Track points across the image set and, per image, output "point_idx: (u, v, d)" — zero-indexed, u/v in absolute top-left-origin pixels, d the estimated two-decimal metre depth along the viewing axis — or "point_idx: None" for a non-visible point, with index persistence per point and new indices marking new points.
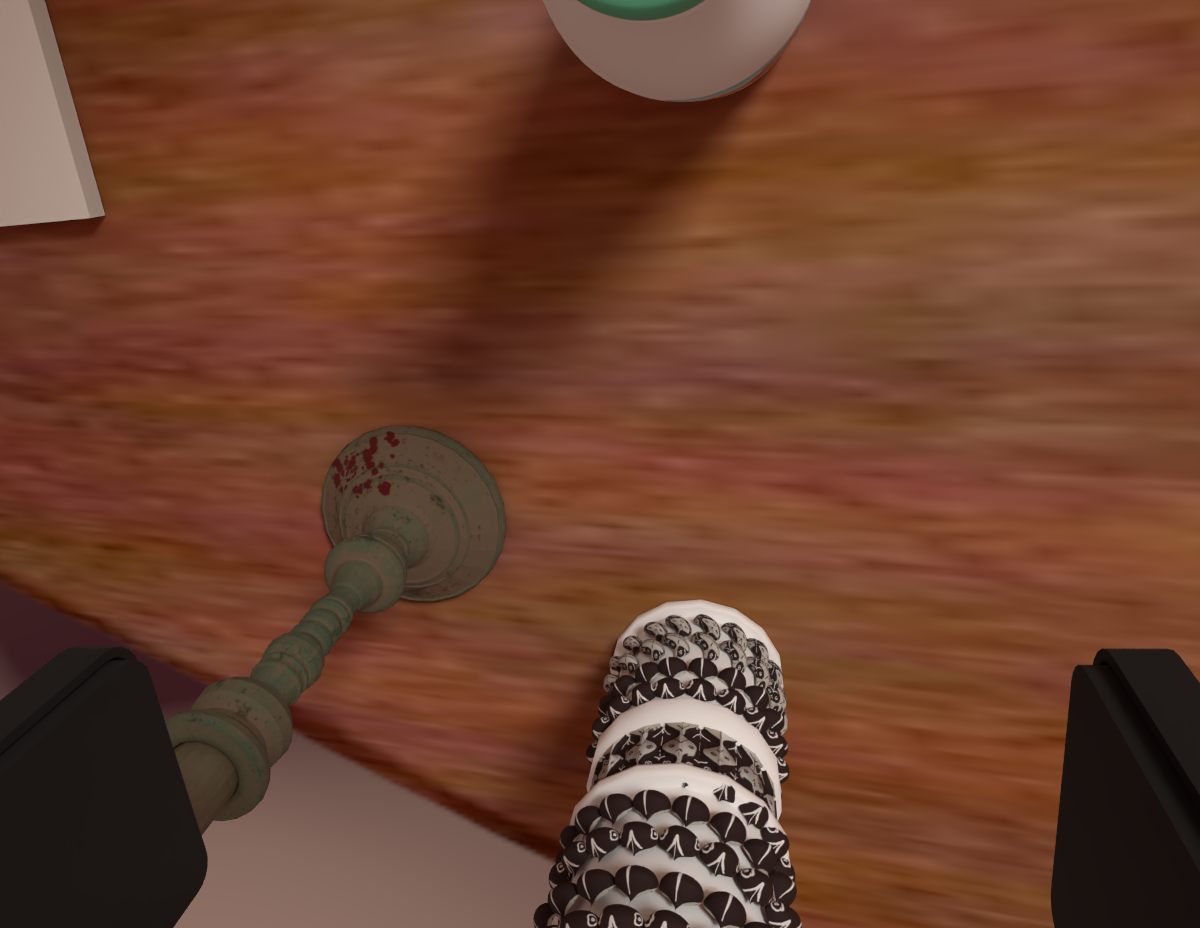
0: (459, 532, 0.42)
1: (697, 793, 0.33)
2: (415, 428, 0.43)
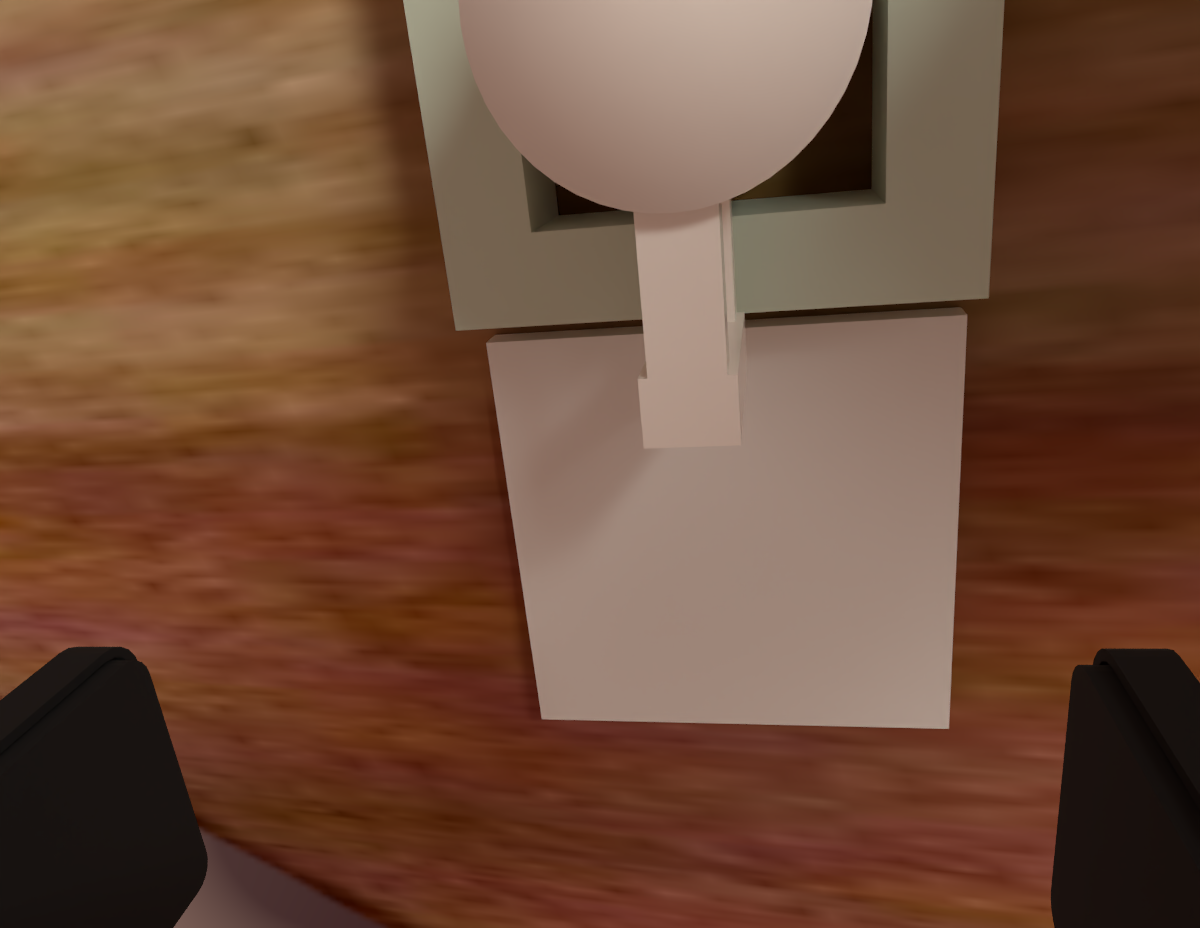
0: None
1: None
2: None
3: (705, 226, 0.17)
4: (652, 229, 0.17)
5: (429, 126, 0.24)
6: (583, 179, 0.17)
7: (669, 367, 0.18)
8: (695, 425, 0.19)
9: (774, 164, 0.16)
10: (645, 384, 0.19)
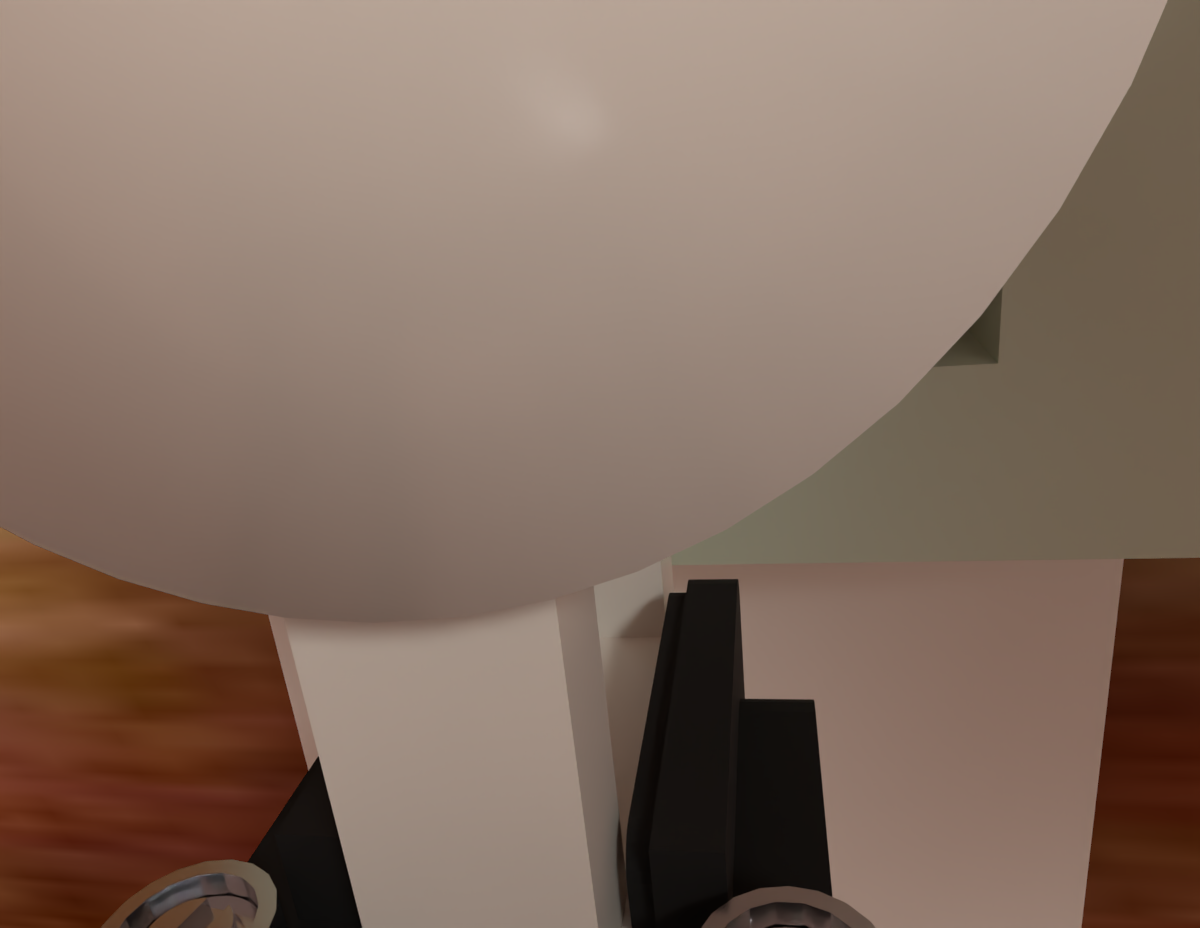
0: None
1: None
2: None
3: (511, 629, 0.05)
4: (340, 626, 0.05)
5: None
6: (43, 498, 0.05)
7: None
8: None
9: (742, 487, 0.04)
10: None
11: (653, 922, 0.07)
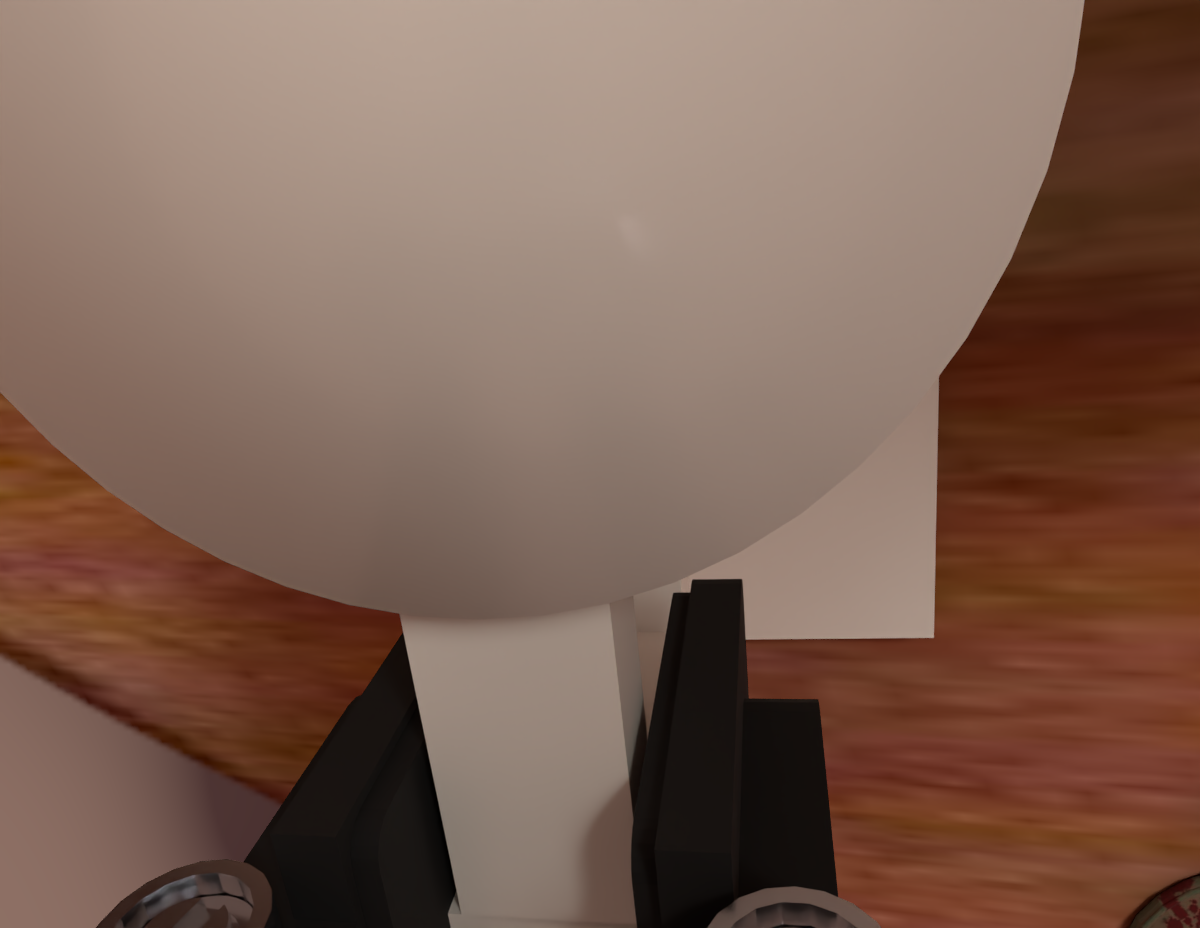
0: None
1: None
2: None
3: (575, 624, 0.07)
4: (444, 622, 0.07)
5: None
6: (235, 528, 0.06)
7: (509, 899, 0.08)
8: None
9: (751, 523, 0.06)
10: (457, 925, 0.08)
11: (659, 923, 0.06)
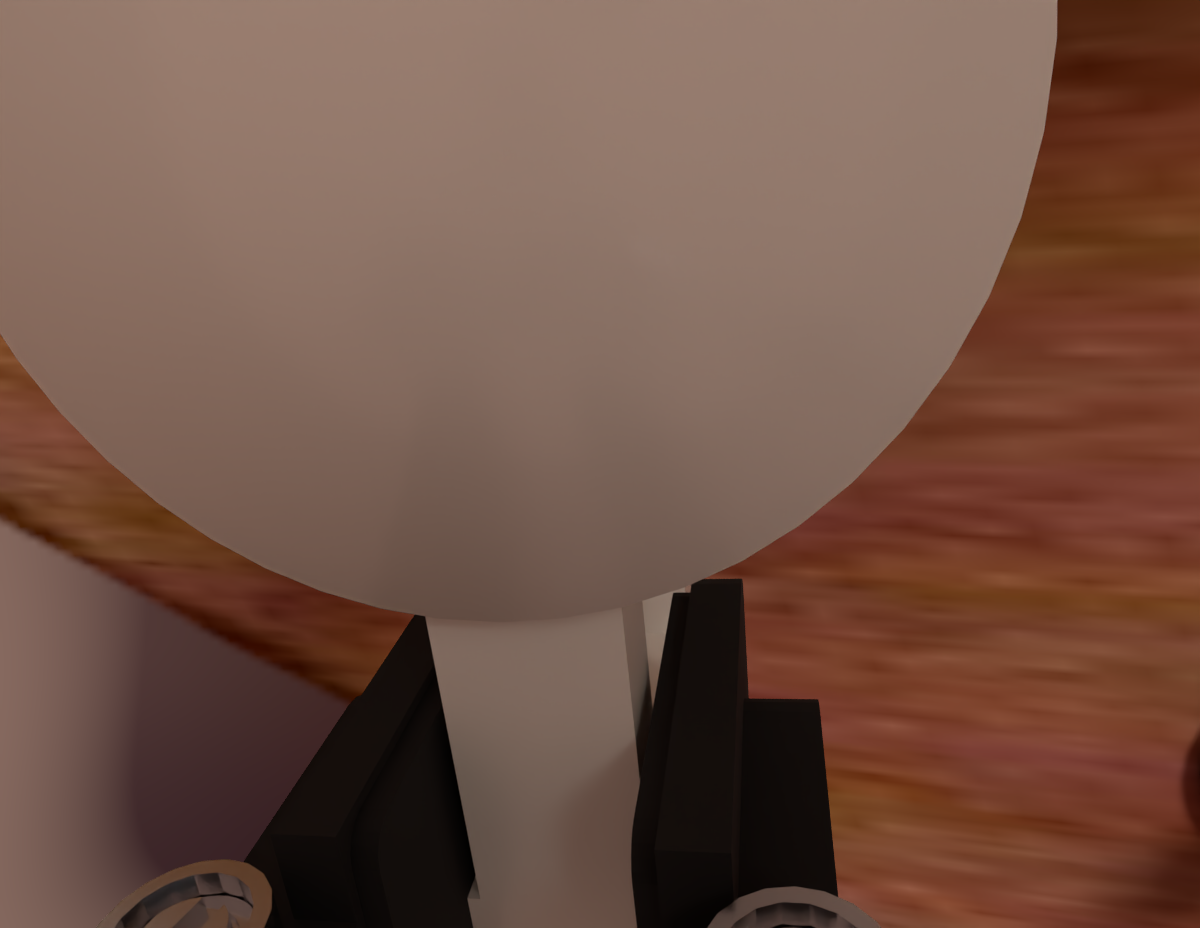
0: None
1: None
2: None
3: (590, 626, 0.07)
4: (466, 624, 0.07)
5: None
6: (276, 537, 0.07)
7: (526, 884, 0.08)
8: None
9: (753, 533, 0.06)
10: (475, 908, 0.09)
11: (659, 923, 0.06)
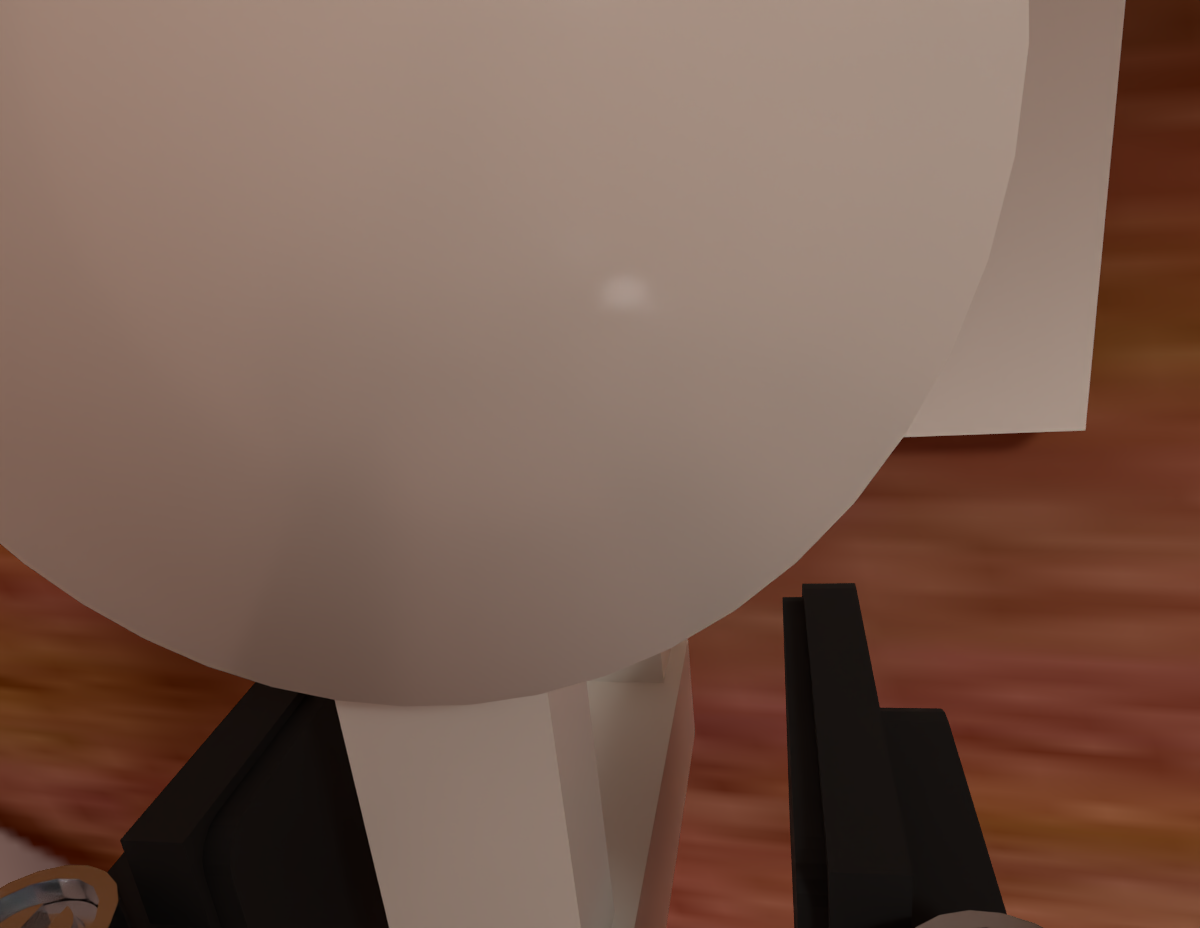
0: None
1: None
2: None
3: (512, 707, 0.06)
4: None
5: None
6: (153, 606, 0.06)
7: None
8: None
9: (681, 618, 0.05)
10: None
11: None
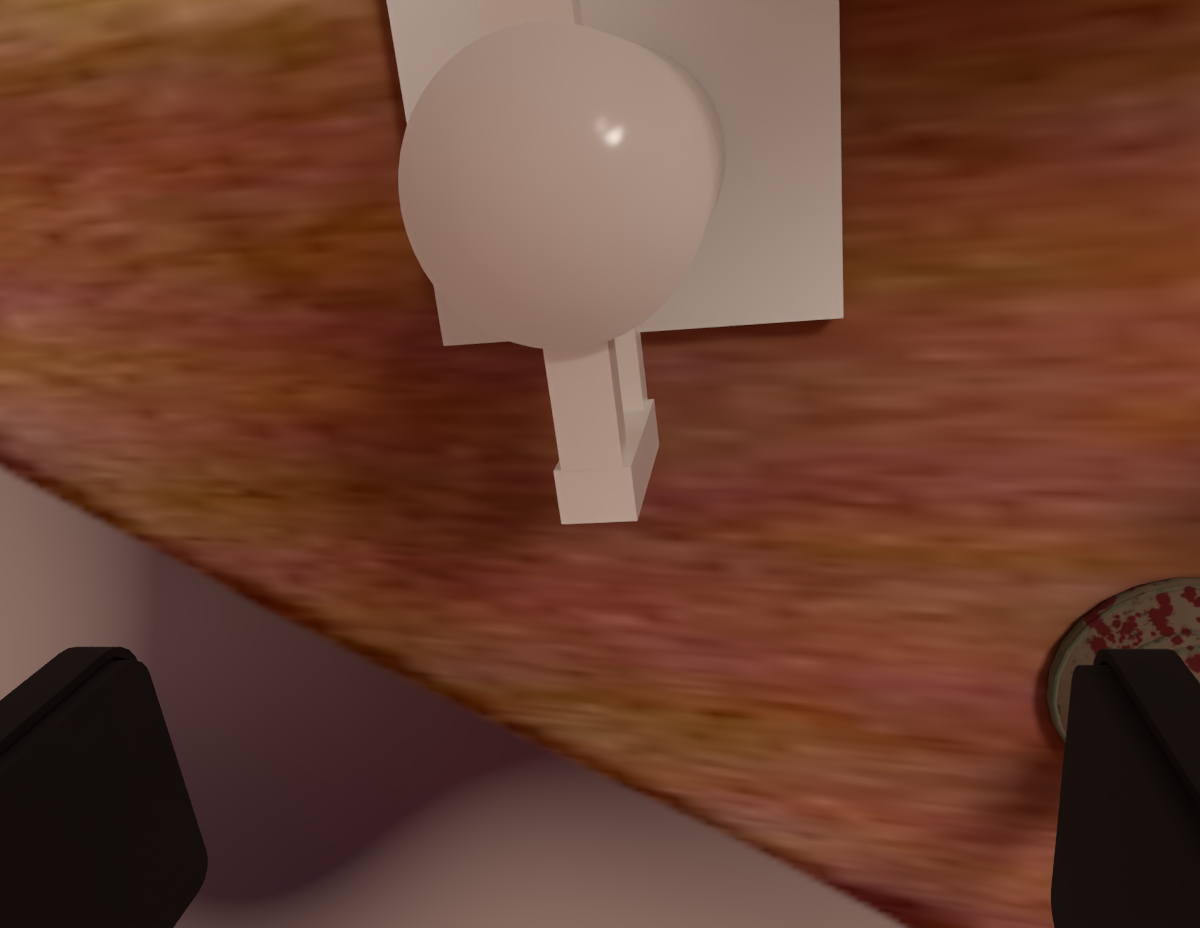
0: None
1: None
2: None
3: (598, 356, 0.22)
4: (557, 358, 0.22)
5: None
6: (500, 324, 0.22)
7: (577, 462, 0.23)
8: (600, 506, 0.24)
9: (644, 313, 0.21)
10: (559, 475, 0.24)
11: None
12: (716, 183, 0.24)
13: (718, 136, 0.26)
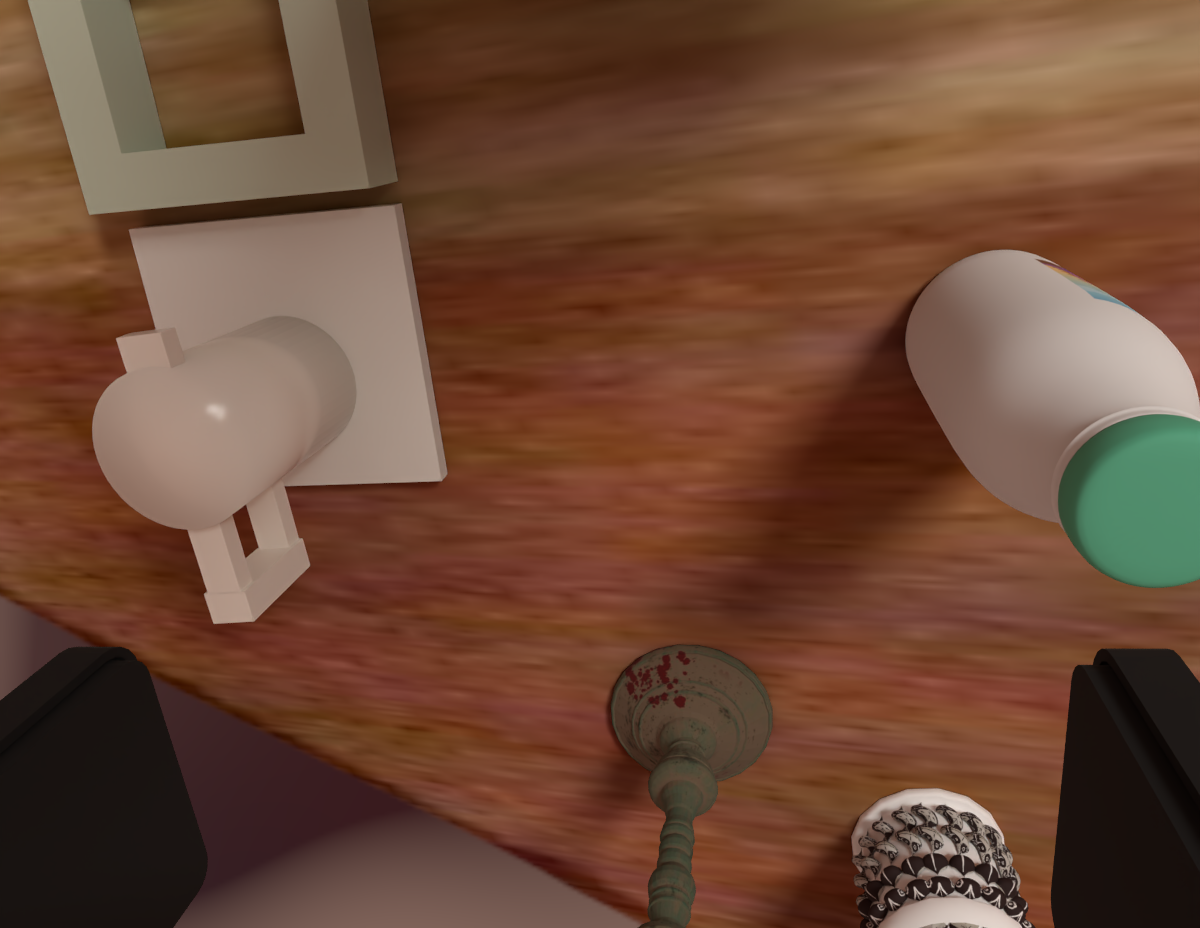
0: (739, 736, 0.50)
1: None
2: (702, 648, 0.50)
3: (216, 531, 0.39)
4: (195, 532, 0.40)
5: (56, 91, 0.41)
6: (157, 516, 0.39)
7: (215, 588, 0.40)
8: (232, 613, 0.41)
9: (230, 511, 0.38)
10: (207, 596, 0.41)
11: None
12: (299, 423, 0.41)
13: (323, 383, 0.44)
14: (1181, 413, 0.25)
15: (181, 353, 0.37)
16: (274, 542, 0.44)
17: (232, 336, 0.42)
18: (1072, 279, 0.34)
